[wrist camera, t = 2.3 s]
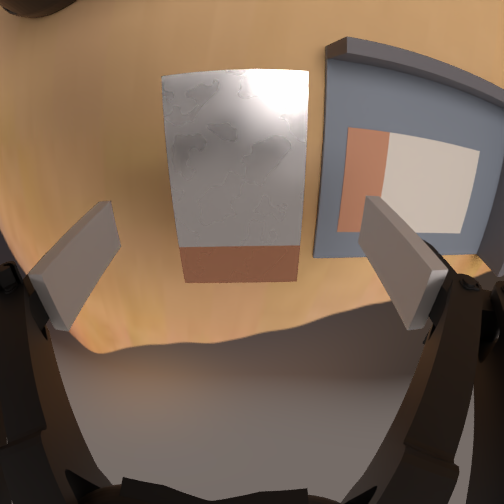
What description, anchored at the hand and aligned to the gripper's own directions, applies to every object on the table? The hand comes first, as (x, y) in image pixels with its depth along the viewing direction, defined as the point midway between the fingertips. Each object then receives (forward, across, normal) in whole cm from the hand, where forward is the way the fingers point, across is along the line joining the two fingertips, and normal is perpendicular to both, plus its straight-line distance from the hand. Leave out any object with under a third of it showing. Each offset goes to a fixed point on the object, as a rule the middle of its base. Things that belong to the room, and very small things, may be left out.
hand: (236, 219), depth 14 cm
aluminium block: (+11, 0, +1) cm, 11 cm away
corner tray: (+11, +19, +1) cm, 22 cm away
